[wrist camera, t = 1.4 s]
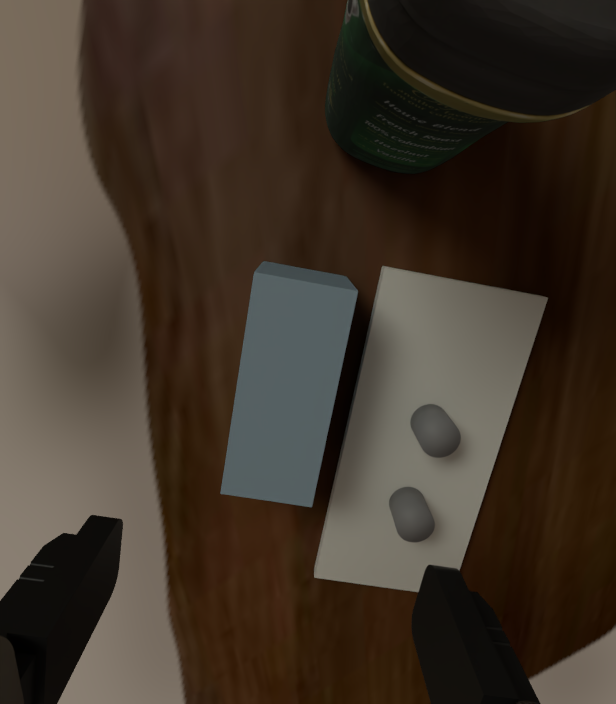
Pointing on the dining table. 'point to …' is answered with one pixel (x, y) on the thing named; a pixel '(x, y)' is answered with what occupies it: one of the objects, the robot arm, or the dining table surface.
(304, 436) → the block
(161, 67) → the dining table surface
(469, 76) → the coffee jar
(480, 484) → the board
